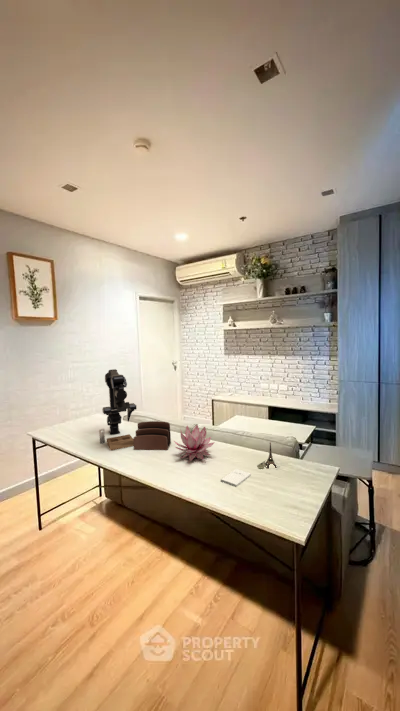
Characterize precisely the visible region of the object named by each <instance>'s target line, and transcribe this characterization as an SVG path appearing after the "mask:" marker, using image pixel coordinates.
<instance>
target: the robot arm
mask: <svg viewBox="0 0 400 711" xmlns="http://www.w3.org/2000/svg"><path fill="white" fill-rule="evenodd" d="M104 382H105V385H106V386H107V388H108V396H109V406H104V407H102V413H103V415H106V416H107V417H106V424H107V426H109V431H108V433H109V435H111V436H112V435H117V434H121V431H120V429H119V427H120V426H119V425H120V424H121V423H122V416H121V413H122V412H123V413H124V412H126V411H127V418H126V419H127V422H128V423H129V422H130V417H131V415H132V413H133V412H135V410H136V411H137V404H135V403H133V402H132V403H130V402H129V401H126V402H125V399H126V398H127V396H128V393H127V391H126V390H125V388H127V385H128V382H127V379H126V376H124V375H123V374H119V372H118V370H117V369H116V368H114V369H109V370H108V371H107V373H105V375H104Z"/></svg>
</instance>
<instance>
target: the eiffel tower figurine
mask: <svg viewBox="0 0 400 711" xmlns="http://www.w3.org/2000/svg"><path fill="white" fill-rule="evenodd" d="M272 452H273V451H272V441H270V442H269V452H268V458H267V459H266V460H267V461H266V460H264V461H262V462H261V463H260V462H259V464H257V465H256V467H257V469H258V470H261V469H262V470H264V469H266V470H270V469H269V465H270V464H273V465H274V466H275V468H278V466H277V465H276V463H275V461H274V458H273V454H272ZM270 458H271V459H270ZM266 466H267V467H266ZM276 466H277V467H276ZM264 467H265V468H264Z"/></svg>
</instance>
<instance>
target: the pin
mask: <svg viewBox="0 0 400 711" xmlns="http://www.w3.org/2000/svg"><path fill="white" fill-rule="evenodd" d="M98 434H99V436H98V437H99V444H100V445H101V444H102V445H103V444H105V443H106V435H105V429H104V428H101V429H99V430H98Z"/></svg>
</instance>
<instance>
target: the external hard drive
mask: <svg viewBox="0 0 400 711" xmlns="http://www.w3.org/2000/svg"><path fill="white" fill-rule="evenodd" d="M251 476H252V474H251V473H250V472H248V471H244V470H242V469H238V468H235V469H234V470H231V472H230V473H228V474H226V475H225V476H224V477H222V478H221V479H220V482H221V483H223V482H224V483H223V484H227V485H229V486H232V487H235V488H237V487H238V486H240V485H241V484H242V483H244V482H245V481H246V480H247V479H249V478H250V477H251Z"/></svg>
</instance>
